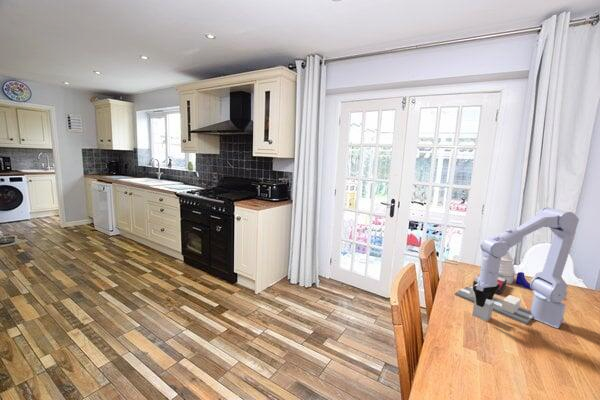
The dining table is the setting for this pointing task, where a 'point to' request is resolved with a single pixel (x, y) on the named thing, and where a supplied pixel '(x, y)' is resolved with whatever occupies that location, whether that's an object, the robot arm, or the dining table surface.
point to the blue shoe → (522, 280)
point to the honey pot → (507, 268)
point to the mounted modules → (504, 302)
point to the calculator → (499, 281)
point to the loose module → (483, 310)
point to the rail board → (519, 315)
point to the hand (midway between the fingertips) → (483, 303)
